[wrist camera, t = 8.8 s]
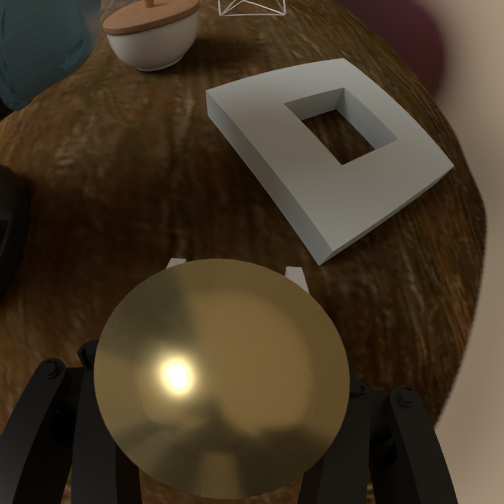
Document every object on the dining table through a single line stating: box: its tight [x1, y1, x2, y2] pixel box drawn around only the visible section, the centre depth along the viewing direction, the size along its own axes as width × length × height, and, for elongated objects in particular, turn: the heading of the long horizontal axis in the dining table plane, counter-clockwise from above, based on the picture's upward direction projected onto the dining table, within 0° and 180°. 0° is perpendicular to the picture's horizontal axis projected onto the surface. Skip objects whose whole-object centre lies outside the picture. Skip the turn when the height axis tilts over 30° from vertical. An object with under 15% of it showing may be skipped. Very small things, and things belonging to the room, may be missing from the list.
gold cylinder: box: [94, 259, 350, 499], centre depth 10 cm, size 5×5×12 cm
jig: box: [206, 58, 454, 266], centre depth 20 cm, size 16×16×3 cm
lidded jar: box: [103, 0, 199, 71], centre depth 21 cm, size 11×11×9 cm
